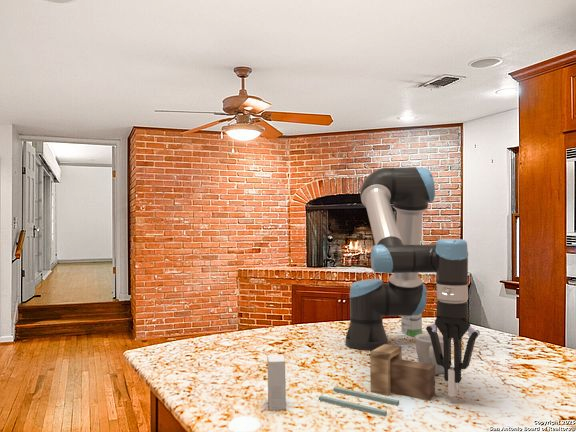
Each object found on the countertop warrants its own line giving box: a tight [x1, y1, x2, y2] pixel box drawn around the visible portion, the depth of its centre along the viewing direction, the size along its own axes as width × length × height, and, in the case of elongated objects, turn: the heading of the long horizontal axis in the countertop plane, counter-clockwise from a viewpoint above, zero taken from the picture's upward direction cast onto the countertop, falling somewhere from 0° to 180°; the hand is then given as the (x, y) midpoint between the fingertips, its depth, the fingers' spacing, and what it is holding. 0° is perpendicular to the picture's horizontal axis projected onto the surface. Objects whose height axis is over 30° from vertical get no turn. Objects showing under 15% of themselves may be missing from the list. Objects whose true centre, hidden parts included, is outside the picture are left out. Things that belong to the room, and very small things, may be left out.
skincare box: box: [266, 353, 287, 411], centre depth 122 cm, size 6×4×12 cm
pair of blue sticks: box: [318, 386, 400, 417], centre depth 124 cm, size 18×9×1 cm, turn 56°
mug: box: [414, 332, 444, 375], centre depth 147 cm, size 10×15×10 cm
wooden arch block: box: [369, 343, 403, 396], centre depth 133 cm, size 5×10×11 cm, turn 146°
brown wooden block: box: [390, 358, 436, 401], centre depth 131 cm, size 16×5×8 cm, turn 57°
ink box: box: [400, 312, 423, 338], centre depth 194 cm, size 9×5×12 cm, turn 14°
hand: (452, 394), depth 123 cm, fingers closed
